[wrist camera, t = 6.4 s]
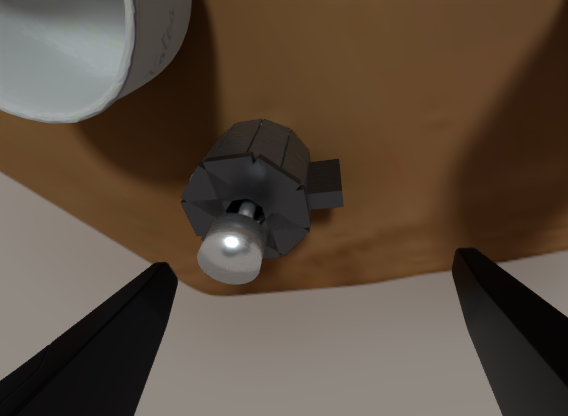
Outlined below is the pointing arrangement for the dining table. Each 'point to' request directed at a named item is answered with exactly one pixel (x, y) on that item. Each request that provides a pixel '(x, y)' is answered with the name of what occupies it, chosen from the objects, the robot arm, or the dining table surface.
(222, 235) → the plunger
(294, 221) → the octagonal grey mug
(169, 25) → the teacup
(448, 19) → the dining table surface
